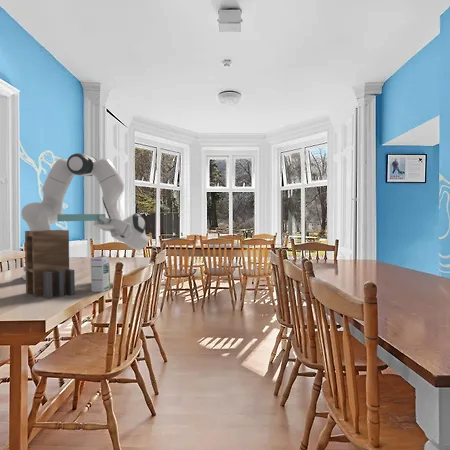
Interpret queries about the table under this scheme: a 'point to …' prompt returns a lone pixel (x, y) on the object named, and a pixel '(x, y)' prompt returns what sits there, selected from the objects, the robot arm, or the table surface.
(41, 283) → the walnut stand
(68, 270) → the domino
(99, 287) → the syrup box
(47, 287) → the domino
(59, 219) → the teal tile bar
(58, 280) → the domino
